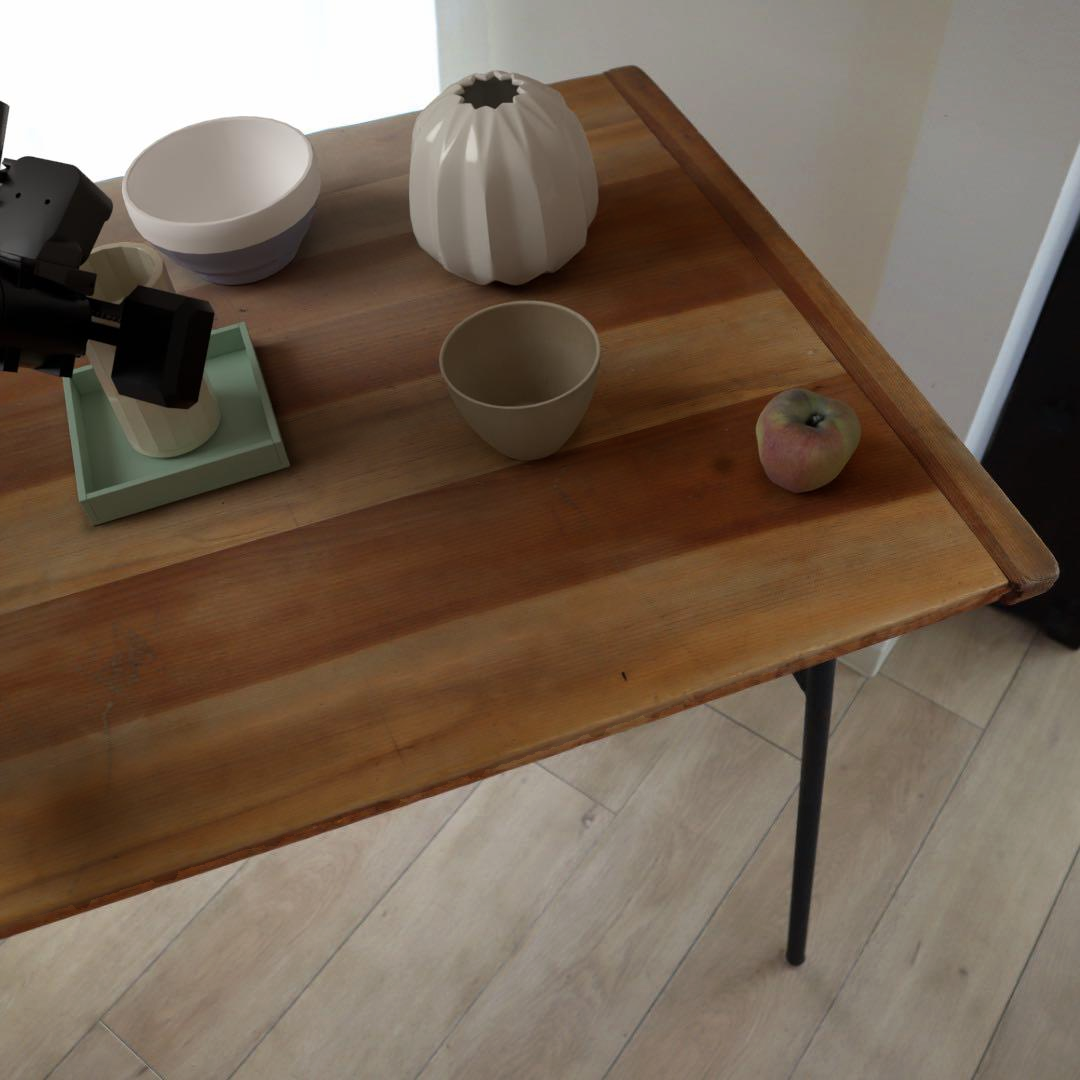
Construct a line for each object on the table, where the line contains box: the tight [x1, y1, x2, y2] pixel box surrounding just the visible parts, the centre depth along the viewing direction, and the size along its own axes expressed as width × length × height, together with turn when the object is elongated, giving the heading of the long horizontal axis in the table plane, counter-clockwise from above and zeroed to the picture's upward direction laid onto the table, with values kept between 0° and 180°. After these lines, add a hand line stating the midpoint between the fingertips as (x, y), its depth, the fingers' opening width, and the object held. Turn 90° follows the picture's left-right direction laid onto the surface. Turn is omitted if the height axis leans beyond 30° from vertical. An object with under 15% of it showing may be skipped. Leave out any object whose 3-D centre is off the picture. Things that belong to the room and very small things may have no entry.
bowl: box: [121, 115, 322, 286], centre depth 90 cm, size 14×14×8 cm
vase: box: [408, 69, 599, 287], centre depth 85 cm, size 14×14×13 cm
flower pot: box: [438, 300, 602, 461], centre depth 75 cm, size 10×10×7 cm
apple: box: [755, 387, 862, 494], centre depth 72 cm, size 6×8×6 cm
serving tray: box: [61, 320, 291, 527], centre depth 80 cm, size 13×13×2 cm
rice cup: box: [79, 241, 221, 458], centre depth 75 cm, size 6×6×12 cm
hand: (154, 336), depth 76 cm, fingers closed on rice cup, 6 cm apart
